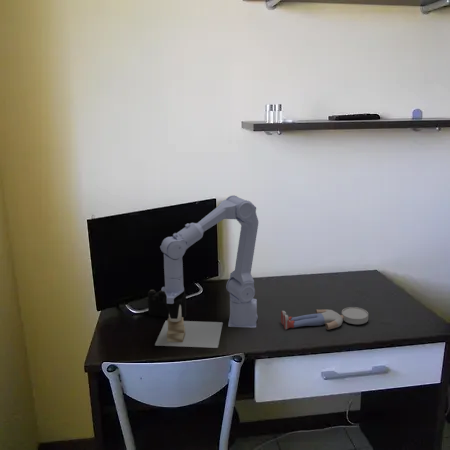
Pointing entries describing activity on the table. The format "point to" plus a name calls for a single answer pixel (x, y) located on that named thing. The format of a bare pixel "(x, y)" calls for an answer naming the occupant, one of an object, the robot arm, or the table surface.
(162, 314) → the camera
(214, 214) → the robot arm
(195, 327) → the mat
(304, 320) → the toy
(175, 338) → the slab bottom
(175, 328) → the slab top
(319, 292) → the table surface
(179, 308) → the cylinder
